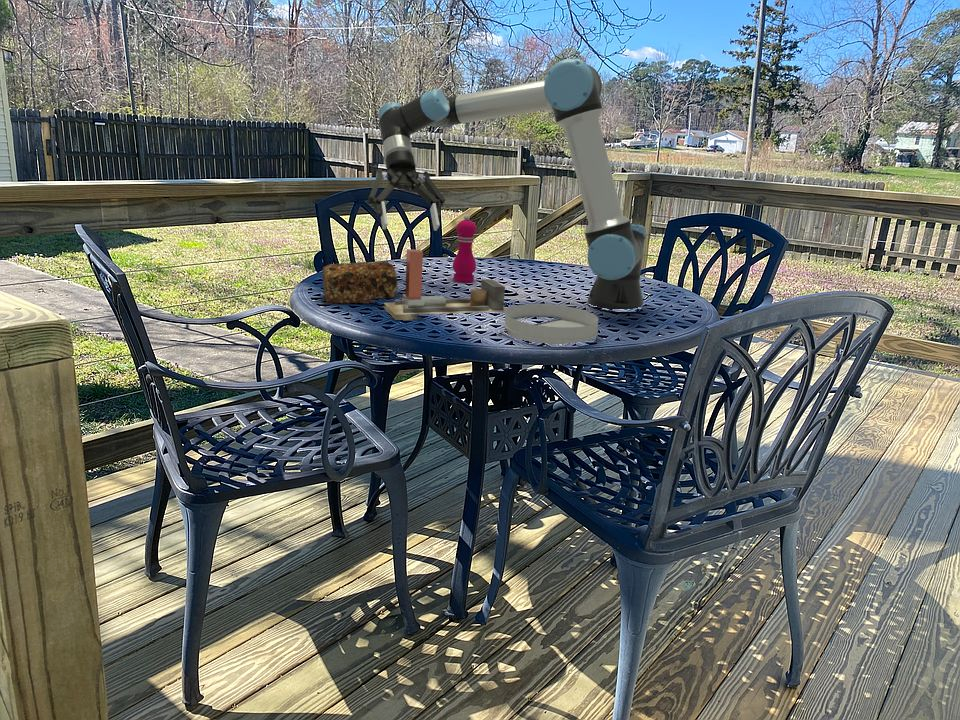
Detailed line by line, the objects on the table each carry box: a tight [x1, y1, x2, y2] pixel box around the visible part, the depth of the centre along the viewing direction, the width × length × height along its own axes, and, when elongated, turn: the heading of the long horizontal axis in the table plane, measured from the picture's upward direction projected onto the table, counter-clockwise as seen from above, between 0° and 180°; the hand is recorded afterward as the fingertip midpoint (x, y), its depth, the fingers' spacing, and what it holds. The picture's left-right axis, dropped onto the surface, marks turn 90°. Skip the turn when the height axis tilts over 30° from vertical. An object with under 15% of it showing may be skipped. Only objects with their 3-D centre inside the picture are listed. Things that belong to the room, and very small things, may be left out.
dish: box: [503, 303, 599, 344], centre depth 172 cm, size 22×22×5 cm
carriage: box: [401, 248, 447, 308], centre depth 182 cm, size 10×6×14 cm, turn 110°
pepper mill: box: [452, 214, 477, 283], centre depth 223 cm, size 7×7×20 cm
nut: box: [470, 288, 486, 306], centre depth 188 cm, size 4×4×4 cm
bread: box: [322, 261, 398, 304], centre depth 193 cm, size 19×11×10 cm, turn 105°
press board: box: [382, 278, 508, 321], centre depth 186 cm, size 30×12×8 cm, turn 110°
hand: (411, 227), depth 187 cm, fingers open, 13 cm apart
